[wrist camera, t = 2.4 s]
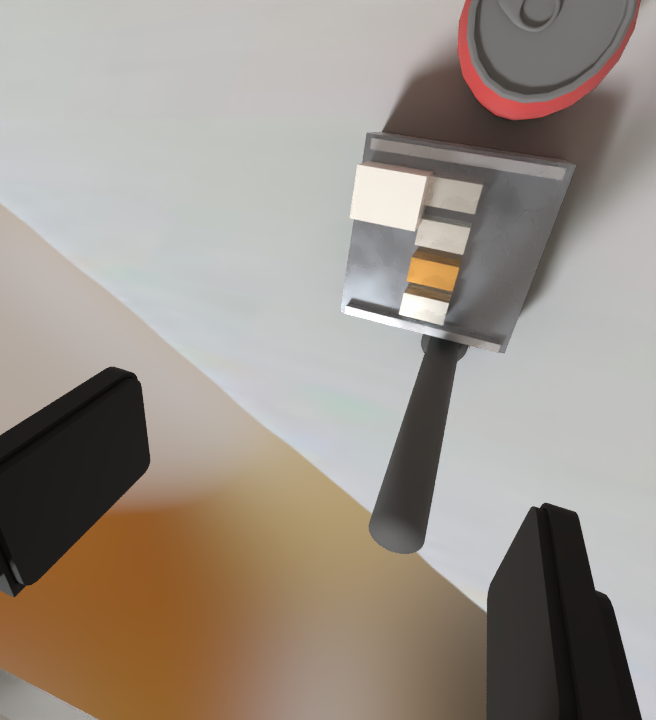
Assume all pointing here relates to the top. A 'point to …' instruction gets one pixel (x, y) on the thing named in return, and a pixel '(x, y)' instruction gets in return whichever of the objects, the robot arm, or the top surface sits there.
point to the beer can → (540, 51)
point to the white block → (389, 195)
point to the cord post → (417, 452)
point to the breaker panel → (486, 251)
